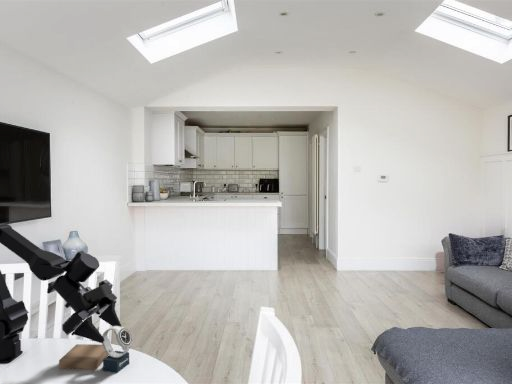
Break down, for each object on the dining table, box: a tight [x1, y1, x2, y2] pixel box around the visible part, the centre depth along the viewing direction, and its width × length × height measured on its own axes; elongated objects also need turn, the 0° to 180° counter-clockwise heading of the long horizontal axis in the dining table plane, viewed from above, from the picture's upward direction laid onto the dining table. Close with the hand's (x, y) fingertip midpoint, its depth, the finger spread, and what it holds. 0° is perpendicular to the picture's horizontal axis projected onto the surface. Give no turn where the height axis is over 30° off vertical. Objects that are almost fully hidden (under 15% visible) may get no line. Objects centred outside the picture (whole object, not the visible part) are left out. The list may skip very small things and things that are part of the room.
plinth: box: [58, 343, 109, 371], centre depth 111 cm, size 10×10×2 cm
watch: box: [101, 325, 133, 374], centre depth 107 cm, size 6×8×11 cm
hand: (112, 334), depth 107 cm, fingers open, 9 cm apart
